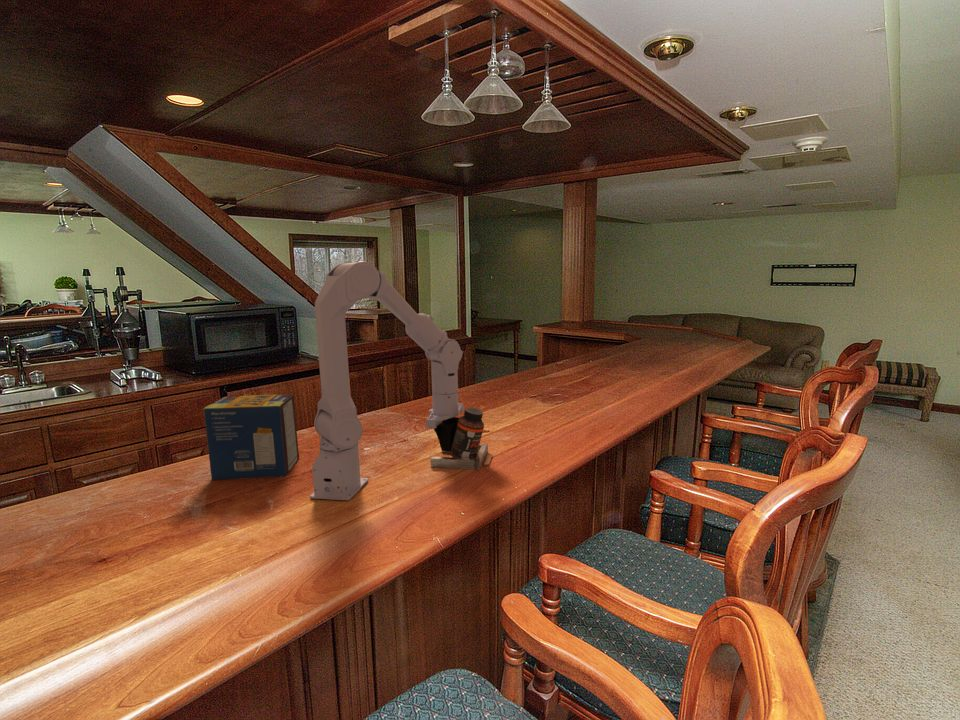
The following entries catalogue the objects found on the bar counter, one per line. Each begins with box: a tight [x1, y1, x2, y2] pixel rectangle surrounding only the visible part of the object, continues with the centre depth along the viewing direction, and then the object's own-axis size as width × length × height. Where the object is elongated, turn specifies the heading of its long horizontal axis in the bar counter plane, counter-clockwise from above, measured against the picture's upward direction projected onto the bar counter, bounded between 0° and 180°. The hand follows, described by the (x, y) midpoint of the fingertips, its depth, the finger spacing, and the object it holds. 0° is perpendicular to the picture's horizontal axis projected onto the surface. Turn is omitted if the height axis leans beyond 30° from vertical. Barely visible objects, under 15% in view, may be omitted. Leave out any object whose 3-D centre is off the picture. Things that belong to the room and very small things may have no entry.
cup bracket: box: [430, 443, 494, 471], centre depth 111 cm, size 11×12×2 cm
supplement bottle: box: [449, 407, 485, 458], centre depth 110 cm, size 6×6×11 cm
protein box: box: [202, 393, 300, 481], centre depth 107 cm, size 10×15×16 cm
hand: (446, 450), depth 112 cm, fingers closed, pressing on supplement bottle
